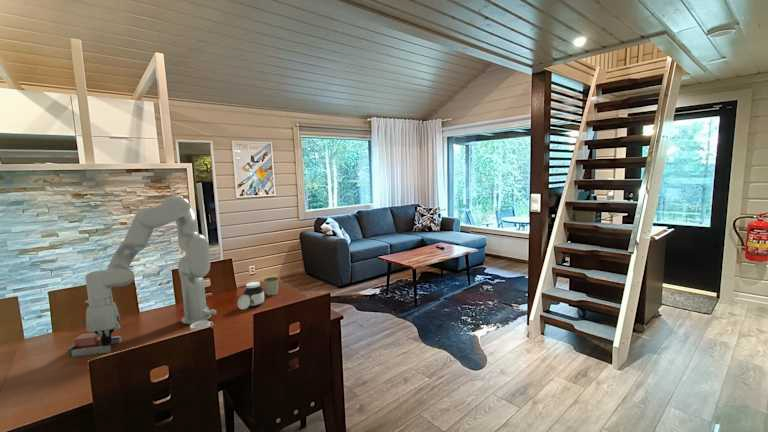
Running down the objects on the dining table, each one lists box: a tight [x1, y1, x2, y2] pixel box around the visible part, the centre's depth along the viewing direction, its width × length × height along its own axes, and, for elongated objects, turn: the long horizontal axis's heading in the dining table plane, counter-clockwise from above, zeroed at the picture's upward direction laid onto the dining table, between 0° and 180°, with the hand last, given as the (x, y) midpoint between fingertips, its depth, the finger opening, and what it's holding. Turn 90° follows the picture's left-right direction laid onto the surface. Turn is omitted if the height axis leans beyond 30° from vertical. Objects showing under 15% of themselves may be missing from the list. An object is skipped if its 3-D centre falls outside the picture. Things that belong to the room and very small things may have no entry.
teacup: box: [189, 320, 214, 332], centre depth 155 cm, size 10×8×5 cm
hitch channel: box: [67, 335, 122, 358], centre depth 145 cm, size 14×9×4 cm
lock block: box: [73, 332, 103, 349], centre depth 145 cm, size 7×5×6 cm
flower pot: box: [262, 276, 281, 297], centre depth 206 cm, size 9×9×9 cm
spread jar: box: [237, 281, 265, 310], centre depth 187 cm, size 12×11×12 cm
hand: (107, 344), depth 146 cm, fingers closed
